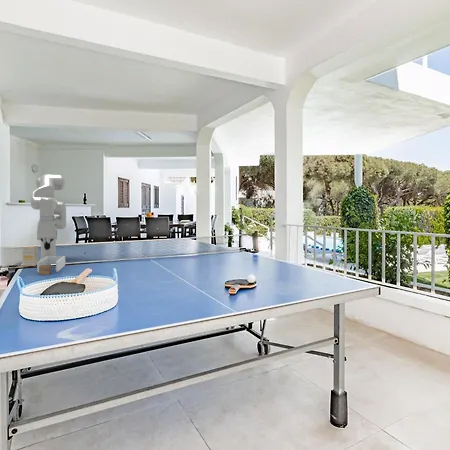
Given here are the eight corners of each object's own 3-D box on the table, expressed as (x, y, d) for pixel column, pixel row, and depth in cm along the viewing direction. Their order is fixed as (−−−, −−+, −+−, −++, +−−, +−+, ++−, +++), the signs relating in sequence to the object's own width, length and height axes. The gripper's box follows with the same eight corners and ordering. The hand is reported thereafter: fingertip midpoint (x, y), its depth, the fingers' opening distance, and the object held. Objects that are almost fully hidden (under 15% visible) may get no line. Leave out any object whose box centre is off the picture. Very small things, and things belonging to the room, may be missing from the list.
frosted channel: (47, 265, 226) (47, 256, 226) (65, 265, 229) (65, 256, 229) (37, 272, 203) (37, 262, 203) (57, 271, 206) (57, 262, 206)
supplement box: (39, 265, 225) (38, 245, 224) (34, 267, 220) (34, 246, 219) (27, 265, 226) (27, 245, 225) (22, 266, 221) (21, 246, 220)
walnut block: (41, 273, 201) (41, 265, 201) (50, 273, 202) (50, 264, 202) (39, 275, 196) (39, 266, 196) (48, 274, 197) (48, 266, 197)
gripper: (61, 218, 208) (62, 248, 210) (34, 218, 204) (35, 248, 206) (59, 219, 201) (59, 250, 203) (31, 219, 197) (31, 250, 199)
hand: (47, 249), depth 204 cm, fingers closed
